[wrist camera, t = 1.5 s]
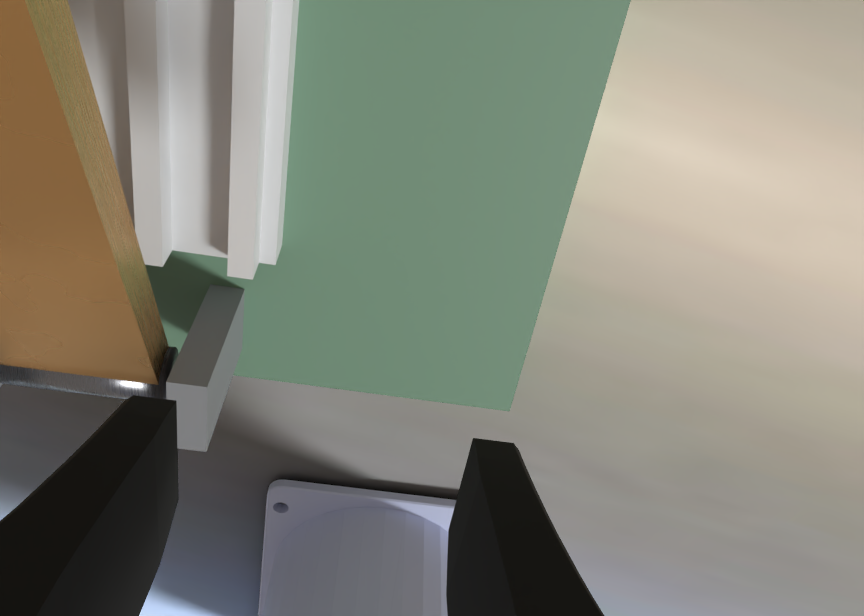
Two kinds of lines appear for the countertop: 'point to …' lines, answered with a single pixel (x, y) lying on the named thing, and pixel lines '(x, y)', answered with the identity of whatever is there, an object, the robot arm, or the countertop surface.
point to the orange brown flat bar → (67, 225)
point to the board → (348, 183)
